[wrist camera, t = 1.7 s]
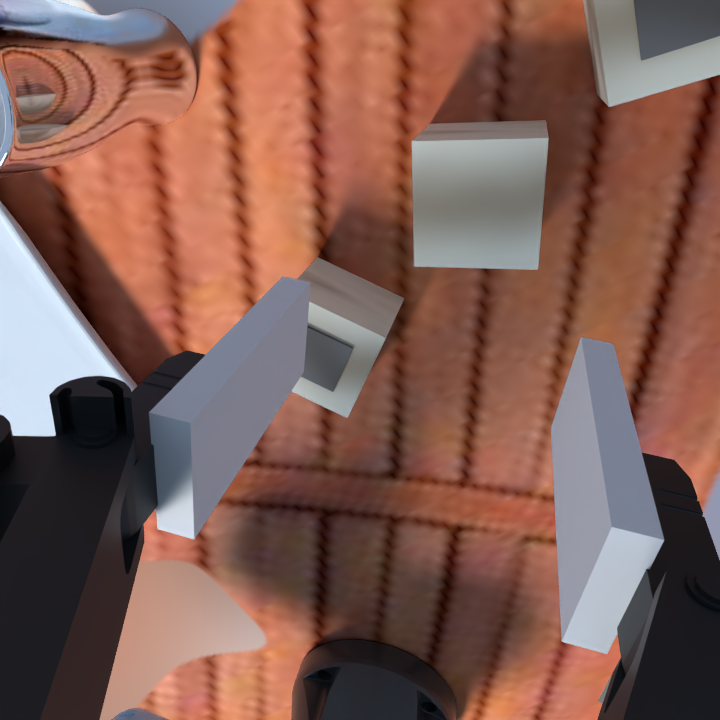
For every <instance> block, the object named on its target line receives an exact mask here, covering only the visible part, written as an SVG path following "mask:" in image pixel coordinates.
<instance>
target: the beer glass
mask: <svg viewBox="0 0 720 720" xmlns="http://www.w3.org/2000/svg"><path fill="white" fill-rule="evenodd" d="M196 85H197V71H196V64H195V60H194V56H193V53H192V51H191V48H190V46H189V44H188V42H187V40H186V38H185V37H184V36H183V34H182V33H181V31H180V30H179V29H178V28H177V27H176V26H175V25H174V24H173V23H172V22H171V21H170V20H169V19H167V18H166V17H164V16H163V15H161V14H159V13H157V12H155V11H152V10H149V9H143V8H131V9H126V10H123V11H120V12H117V13H115V14H112V15H108V16H103V15H98V14H94V13H91V12H88V11H85V10H82V9H80V8H77V7H74V6H71V5H68V4H65V3H62V2H59V1H56V0H0V178H2V177H8V176H14V175H19V174H25V173H30V172H34V171H38V170H42V169H46V168H50V167H53V166H56V165H59V164H62V163H65V162H68V161H70V160H73V159H76V158H78V157H80V156H82V155H83V154H85V153H87V152H89V151H91V150H93V149H95V148H96V147H98V146H100V145H101V144H103V143H104V142H106V141H107V140H109V139H110V138H112V137H113V136H115V135H116V134H118V133H119V132H121V131H122V130H124V129H125V128H127V127H129V126H131V125H145V126H161V125H166V124H169V123H172V122H174V121H175V120H177V119H178V118H180V117H181V116H182V115H183V114H184V113H185V112H186V111H187V110H188V108H189V107H190V105H191V103H192V101H193V98H194V95H195V91H196Z"/></svg>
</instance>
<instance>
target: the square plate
mask: <svg viewBox="0 0 720 720" xmlns="http://www.w3.org/2000/svg"><path fill="white" fill-rule="evenodd" d="M87 376H106V377H113V378H116V379H119V380H121V381H123V382H125V383H126V384H127V385H128V386H129V388H130V389H131V392H132V391H133V390H134V389H135V388H136V387H137V386H138V385H137V384H136V383H135V382H134V381H133V379H132V378H131V377H130V376H129V375H128V373H127V372H126V371H125V369H124V368H123V367H122V365H121V364H120V363H119V362H118V360H117V359H116V358H115V356H114V355H113V354H112V353H111V351H110V350H109V349H108V347H107V346H106V345H105V343H104V342H103V341H102V339H101V338H100V337H99V335H98V334H97V333H96V331H95V330H94V328H93V327H92V326H91V324H90V323H89V322H88V320H87V319H86V318H85V316H84V315H83V313H82V312H81V311H80V309H79V308H78V307H77V305H76V304H75V303H74V301H73V300H72V298H71V297H70V296H69V294H68V293H67V291H66V290H65V288H64V287H63V286H62V284H61V283H60V281H59V280H58V279H57V277H56V276H55V274H54V273H53V271H52V270H51V269H50V267H49V266H48V264H47V263H46V261H45V260H44V259H43V257H42V256H41V254H40V253H39V251H38V250H37V249H36V247H35V246H34V244H33V243H32V241H31V240H30V238H29V237H28V236H27V234H26V233H25V231H24V230H23V229H22V228H21V226H20V225H19V224H18V222H17V221H16V220H15V219H14V217H13V216H12V215H11V214H10V212H9V211H8V210H7V208H6V207H5V206H4V205H3V204H2V202H1V201H0V415H3V416H4V417H5V418H6V419H7V420H8V421H9V422H10V425H11V430H12V434H13V436H55V435H56V433H55V427H54V421H53V415H52V409H51V403H50V398H49V395H50V394H51V393H52V392H53V391H54V390H55V389H56V387H58V386H60V385H62V384H64V383H66V382H68V381H70V380H74V379H78V378H81V377H87Z"/></svg>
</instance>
